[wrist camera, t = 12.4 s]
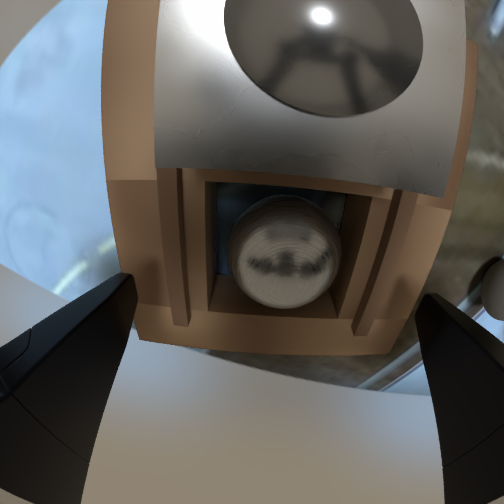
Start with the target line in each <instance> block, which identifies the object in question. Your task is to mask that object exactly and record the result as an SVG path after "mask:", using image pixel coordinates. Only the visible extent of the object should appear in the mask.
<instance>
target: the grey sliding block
mask: <svg viewBox="0 0 504 504" xmlns="http://www.w3.org/2000/svg"><path fill="white" fill-rule="evenodd" d="M465 63H466V22H465V6H464V0H160V8H159V17H158V27H157V40H156V54H155V75H154V156H155V168H196V169H222V170H241V171H256V172H269V173H280V174H291V175H301V176H310V177H319V178H327V179H335V180H343V181H350V182H357V183H364V184H370V185H376V186H382V187H388V188H394V189H399V190H405V191H410V192H415V193H420V194H425V195H430V196H435V197H439V198H443V197H444V193H445V190H446V186H447V182H448V178H449V174H450V170H451V165H452V161H453V156H454V151H455V146H456V141H457V136H458V130H459V123H460V117H461V109H462V101H463V92H464V80H465Z"/></svg>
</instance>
